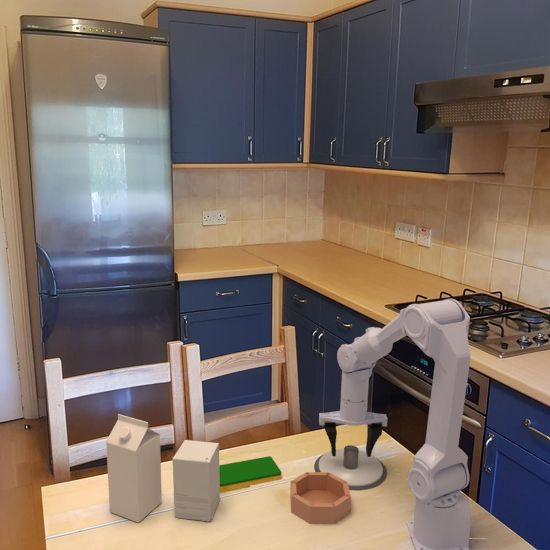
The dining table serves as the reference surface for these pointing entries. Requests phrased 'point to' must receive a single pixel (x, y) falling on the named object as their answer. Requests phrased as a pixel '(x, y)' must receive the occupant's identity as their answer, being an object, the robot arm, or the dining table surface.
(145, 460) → the milk carton
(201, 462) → the supplement box
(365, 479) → the lid
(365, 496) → the dining table surface
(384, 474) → the mat
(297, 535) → the dining table surface
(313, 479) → the bowl
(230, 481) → the dish sponge
